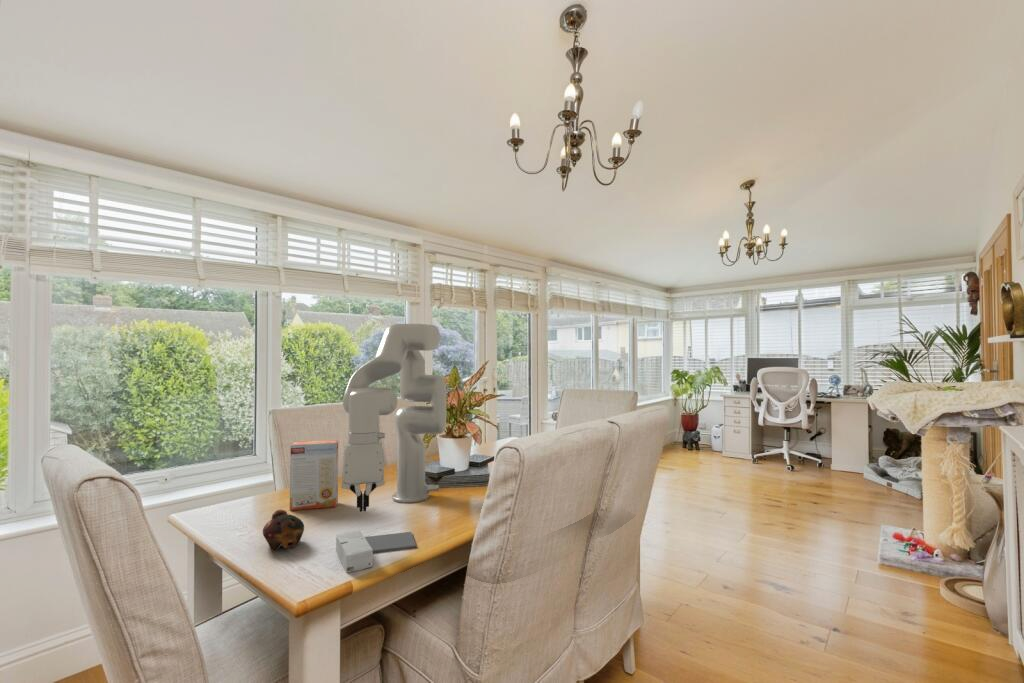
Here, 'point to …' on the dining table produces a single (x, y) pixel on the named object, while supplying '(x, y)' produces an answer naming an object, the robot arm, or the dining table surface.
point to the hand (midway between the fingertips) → (362, 509)
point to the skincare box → (354, 551)
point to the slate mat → (391, 542)
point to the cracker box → (313, 474)
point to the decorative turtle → (283, 530)
